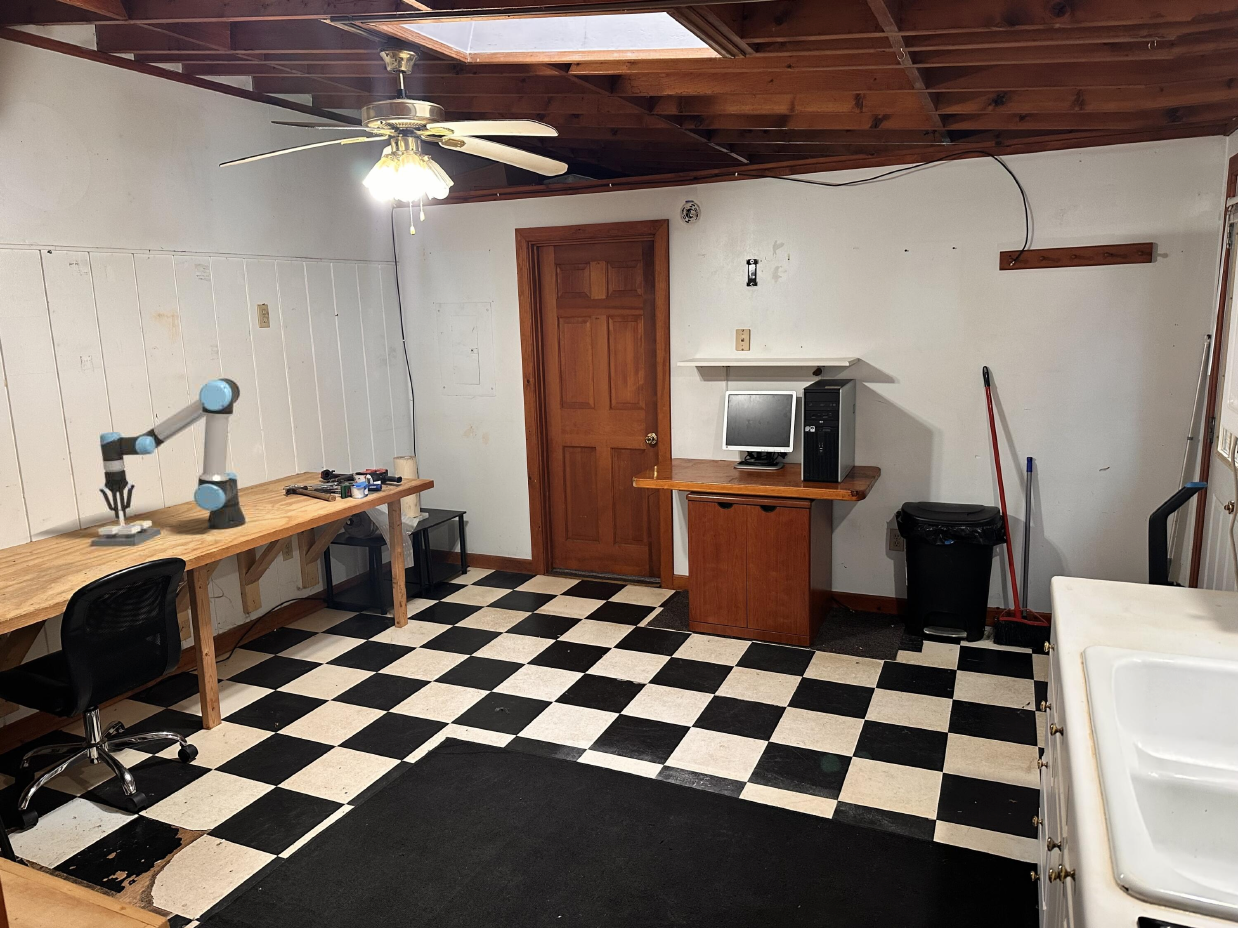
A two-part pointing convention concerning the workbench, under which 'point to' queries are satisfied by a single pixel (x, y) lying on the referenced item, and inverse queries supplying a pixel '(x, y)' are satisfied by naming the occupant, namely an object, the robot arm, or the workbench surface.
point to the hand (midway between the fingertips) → (121, 525)
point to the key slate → (129, 531)
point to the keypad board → (126, 539)
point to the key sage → (109, 531)
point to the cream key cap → (142, 525)
